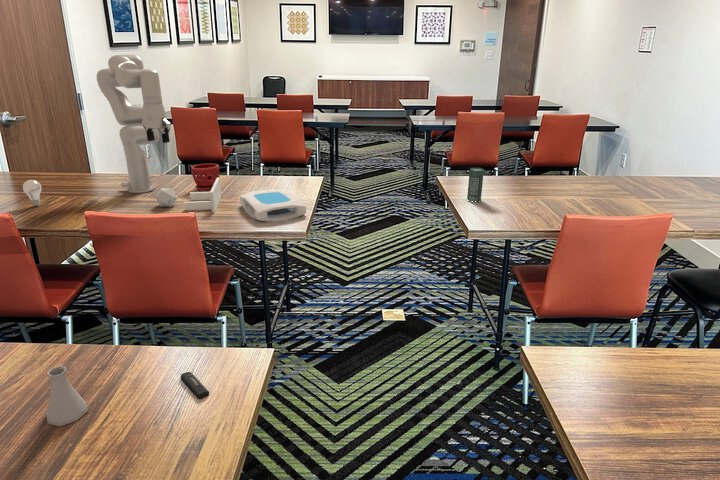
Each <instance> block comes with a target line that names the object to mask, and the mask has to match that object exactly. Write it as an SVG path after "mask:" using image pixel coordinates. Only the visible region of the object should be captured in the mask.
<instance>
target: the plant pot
mask: <svg viewBox="0 0 720 480" xmlns="http://www.w3.org/2000/svg"><path fill="white" fill-rule="evenodd" d="M190 167H191V168H190V169H191V175H192V178H193V181H194V183H195V184H196V185H195V189H196V190H197V191H198V192H210V191H211V189H212V187H213V185H214V183H215V181H216V179H217V178H219V177H220V166H219V164H217V163H200V164H196V165H193V166H190Z"/></svg>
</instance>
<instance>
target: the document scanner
mask: <svg viewBox="0 0 720 480" xmlns="http://www.w3.org/2000/svg"><path fill="white" fill-rule="evenodd" d="M239 201H240V205H241V207H242V208H243V210H244V211H245V212H246V213H247V214H248V215H249V216H250V217H251V218H252V219H254V220H256V221H261V222H267V223H272V222H279V221H286V220H292V219H297V218H299V217H301V216H304V215H306V214H307V205H306V204H305V203H304V201H302V199H301V198H300V197H299V196H297V195H295V194H294V193H292V191H290V190H286V189H277V188H269V189H260V190H252V191H249V192H246V193H244V194H241V195H240V196H239ZM282 209H286V210H287V211H288V212H284V213H280V214H279V213H278V214H268V212H271V211H274V210H275V211H276V210H282Z"/></svg>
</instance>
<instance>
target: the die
mask: <svg viewBox="0 0 720 480" xmlns="http://www.w3.org/2000/svg"><path fill="white" fill-rule="evenodd" d="M154 198H155V200H156V202H157V203H158V205H159V207H162V208H163V207H165V208H166V207H169V208H172V207H173V206H174V204H175V203H176V202H177V199H178V196H177V194H176V193H175V191H174V189H173V188H172V187H171V188H169V187H167V188H165V187H163V188H162V187H161V188H159V190H158V191H157V193H156V195H155V196H154Z"/></svg>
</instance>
